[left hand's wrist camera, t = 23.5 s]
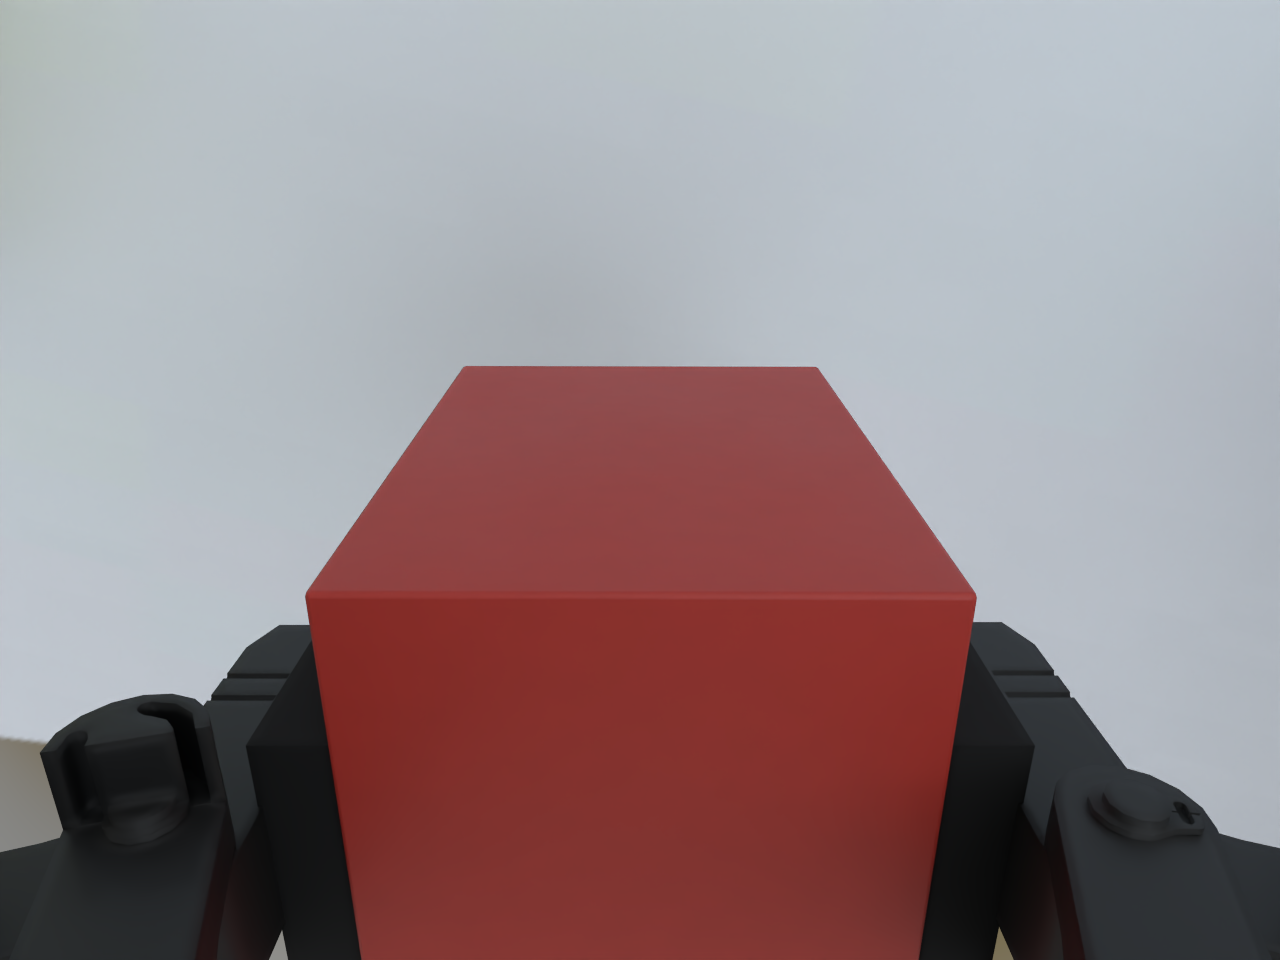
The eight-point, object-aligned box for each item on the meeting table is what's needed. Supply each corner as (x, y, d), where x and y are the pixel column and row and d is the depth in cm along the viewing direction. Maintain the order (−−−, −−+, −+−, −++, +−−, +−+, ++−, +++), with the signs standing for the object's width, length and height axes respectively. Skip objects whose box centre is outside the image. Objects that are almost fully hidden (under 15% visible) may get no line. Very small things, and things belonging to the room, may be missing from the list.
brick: (485, 678, 16) (377, 1076, 9) (463, 365, 14) (302, 592, 7) (793, 679, 16) (901, 1077, 9) (818, 365, 14) (980, 595, 7)
